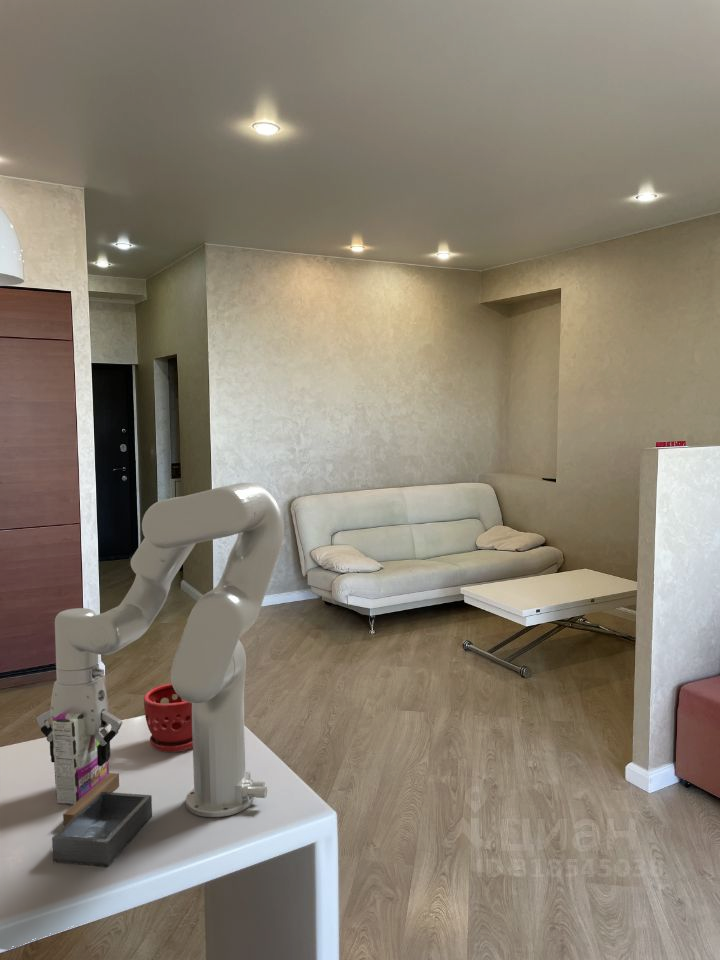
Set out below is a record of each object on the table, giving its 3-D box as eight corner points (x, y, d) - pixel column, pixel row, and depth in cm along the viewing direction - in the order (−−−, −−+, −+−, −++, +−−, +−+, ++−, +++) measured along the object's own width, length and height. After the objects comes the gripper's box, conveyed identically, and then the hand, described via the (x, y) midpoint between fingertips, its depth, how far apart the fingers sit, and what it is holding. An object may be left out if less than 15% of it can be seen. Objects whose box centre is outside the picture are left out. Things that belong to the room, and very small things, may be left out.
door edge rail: (119, 785, 145) (118, 773, 145) (74, 828, 130) (73, 815, 129) (109, 785, 146) (109, 772, 146) (63, 828, 130) (63, 814, 130)
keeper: (152, 816, 133) (151, 795, 133) (108, 866, 118) (107, 842, 118) (102, 813, 135) (102, 791, 135) (53, 861, 120) (52, 837, 119)
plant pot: (144, 737, 169) (143, 685, 168) (203, 729, 173) (202, 679, 172) (146, 761, 156) (144, 705, 156) (209, 752, 160) (207, 698, 159)
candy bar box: (87, 777, 149) (84, 697, 148) (110, 779, 148) (106, 698, 147) (53, 804, 138) (50, 718, 137) (78, 806, 137) (74, 720, 136)
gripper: (129, 670, 144) (131, 756, 145) (48, 665, 147) (50, 749, 148) (109, 683, 137) (112, 773, 138) (24, 678, 140) (27, 766, 141)
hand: (80, 761), depth 143 cm, fingers open, 9 cm apart
